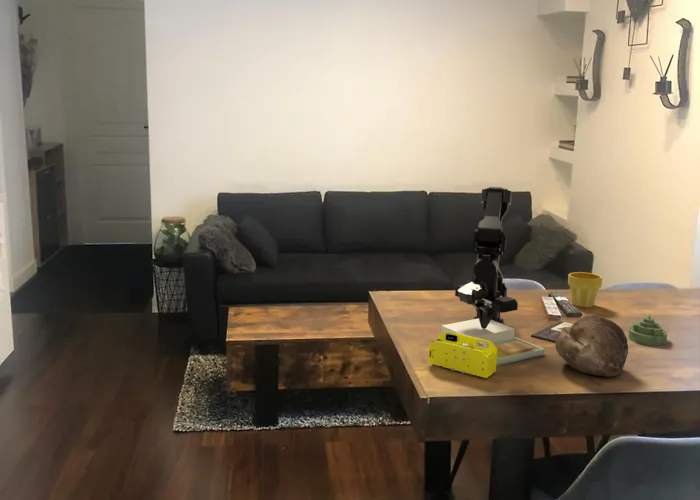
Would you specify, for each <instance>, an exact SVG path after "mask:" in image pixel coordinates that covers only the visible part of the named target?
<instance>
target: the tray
mask: <svg viewBox="0 0 700 500" xmlns="http://www.w3.org/2000/svg"><path fill="white" fill-rule="evenodd" d="M513 341H519V342H522V343H524V344H527V345H529V346H532V347H534V349H533V351H528V352H524V353H519V354H515V355H511V356H506V357H502V358H501V357H498V356H497V362H496V366H504V365H508V364H511V363H512V364H513V363H516V362H520V361H524V360H529V359H533V358H537V357H541V356H545V348H544V347H541V346H539V345H536V344H533V343H532V342H530V341H527V340H526V341H525V340H523V339H522V338H518V337H516V336H515V337H512V338H507V339H502V340H497V341H493V342H492V343H493V344H494V345H499V344H504V343H508V342H513ZM482 346H483V345H482ZM484 347H485V346H484ZM488 347H489V345H488Z"/></svg>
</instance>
